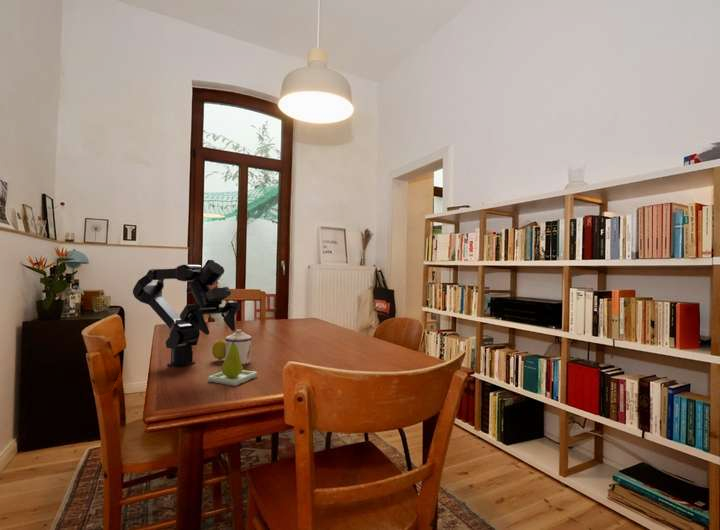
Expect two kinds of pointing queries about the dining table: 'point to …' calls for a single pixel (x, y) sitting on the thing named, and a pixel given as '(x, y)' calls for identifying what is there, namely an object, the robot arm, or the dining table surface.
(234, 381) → the tray
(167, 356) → the dining table surface
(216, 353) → the lemon
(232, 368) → the fruit
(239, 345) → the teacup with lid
